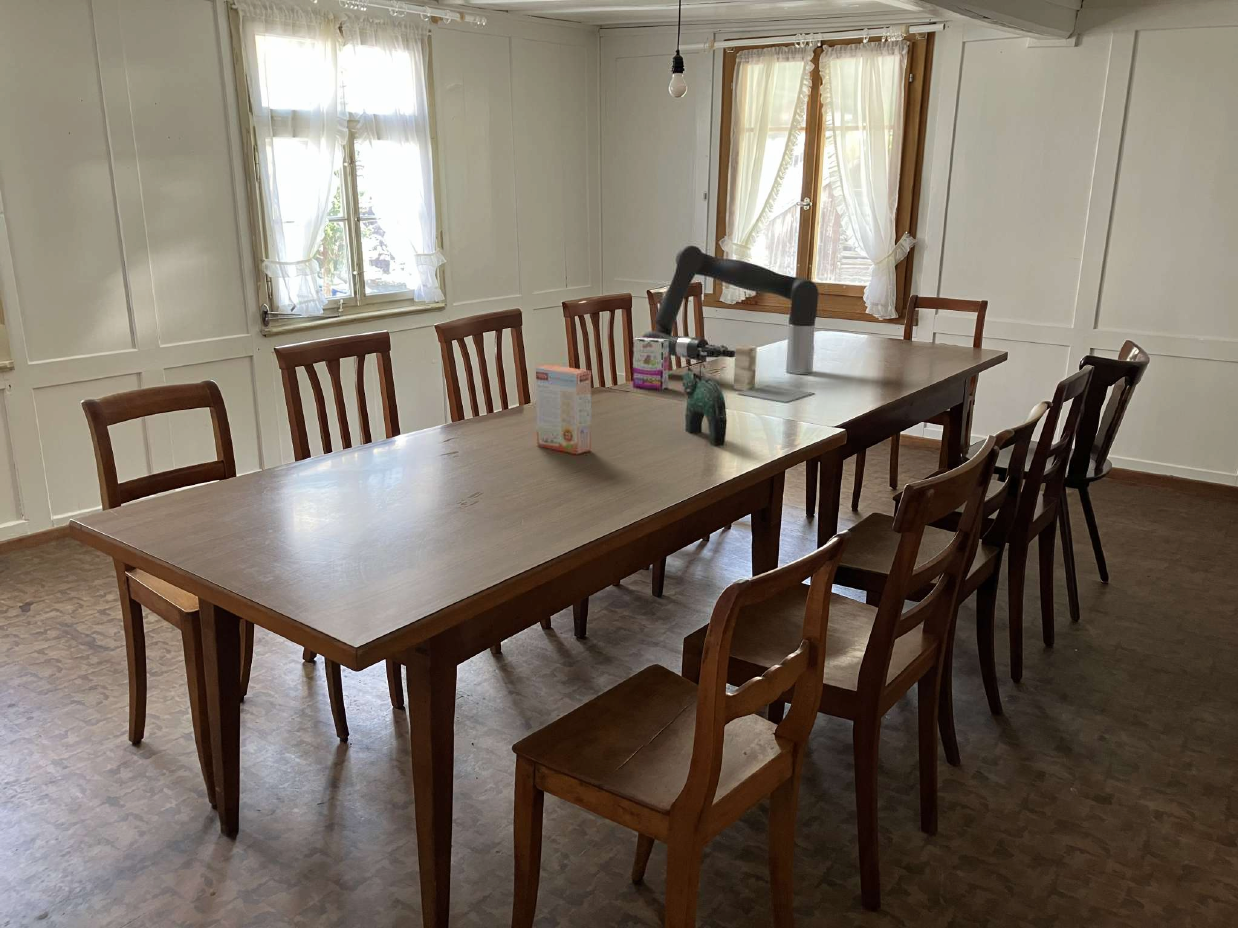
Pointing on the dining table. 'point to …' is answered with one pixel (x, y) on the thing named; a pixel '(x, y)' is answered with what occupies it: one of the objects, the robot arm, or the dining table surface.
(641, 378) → the candy bar box
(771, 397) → the slate rubber mat
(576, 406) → the cracker box
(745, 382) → the birch block
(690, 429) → the green animal figurine
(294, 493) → the dining table surface
